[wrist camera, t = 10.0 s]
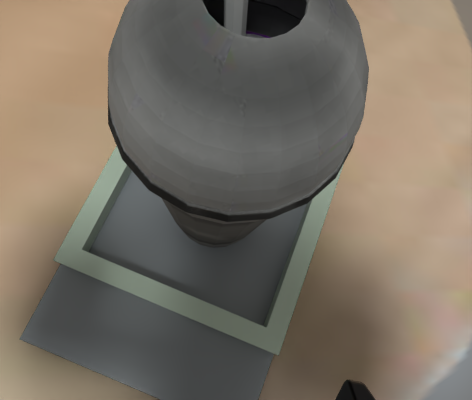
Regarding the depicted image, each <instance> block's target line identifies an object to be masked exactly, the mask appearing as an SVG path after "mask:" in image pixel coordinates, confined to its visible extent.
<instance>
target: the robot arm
mask: <svg viewBox="0 0 472 400" xmlns="http://www.w3.org/2000/svg"><path fill="white" fill-rule="evenodd" d="M335 400H375V398H374V397H373V395H372V394H371V393H370V391H369V390H368V388H367V387H366V386H365V385H364V384H363V383H362V382H358V381H353V380H346V381H345V382H344V384H343V386H342V388H341V389H340V391H339V393H338V395H337V397H336V399H335Z"/></svg>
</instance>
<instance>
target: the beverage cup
mask: <svg viewBox="0 0 472 400" xmlns="http://www.w3.org/2000/svg"><path fill="white" fill-rule="evenodd" d="M368 72H369V67H368V61H367V56H366V51H365V47H364V43H363V38H362V34H361V29H360V25H359V22H358V20H357V18H356V16H355V14H354V12H353V11H352V9H351V7H350V6H349V4H348V2H347V1H346V0H130V1H129V2H128V4H127V5H126V7H125V9H124V12H123V14H122V17H121V20H120V22H119V25H118V27H117V30H116V33H115V35H114V38H113V41H112V44H111V47H110V51H109V57H108V124H109V127H110V129H111V132H112V135H113V137H114V140H115V142H116V145H117V147H118V150H119V153H120V155H121V158H122V160H123V161H124V162H125V163H126V164H127V166H128V167H129V168H130V169H131V170H132V171H133V173H134V174H135V175H136V176H137V177H138V178H139V180H140V181H141V182H142V183H143V184H144V185H145V186H146V188H147V189H148V190H149V191H151V192H152V193H154V194H156V195H157V196H159V197H161V198H162V200H163V202H164V203H165V205H166V207H167V208H168V210H169V212H170V214H171V215H172V217H173V219H174V220H175V222H176V224H177V225H178V226H179V227H180V228H181V230H182V231H183V232H184V233H185V234H186V235H187V236H188V237H189V238H190V239H191V240H193V241H195V242H196V243H198V244H200V245H203V246H207V247H212V248H216V247H226V246H228V245H231V244H233V243H236V242H238V241H239V240H242V239H243V238H245V237H246V236H247V235H248V234H249V233H251V232H252V231H253V230H254V229H256V228H257V227H258V226H259V225H261V224H262V223H263V222H264V221H265V220H267V219H271V218H274V217H276V216H279V215H281V214H283V213H286V212H288V211H291V210H293V209H296V208H298V207H300V206H303V205H305V204H307V203H309V202H310V201H311V200H312V199H313V198H314V197H315V196H316V195H318V194H319V193H320V192H321V191H322V190H323V189H324V188H325V187H327V186H328V185H329V184H330V183H331V182H332V181H333V180H334V179H336V177H337V175H338V173H339V171H340V169H341V167H342V165H343V164H344V162H345V160H346V158H347V156H348V154H349V152H350V151H351V149H352V146H353V143H354V138H355V135H356V134H357V132H358V130H359V128H360V125H361V122H362V119H363V115H364V107H365V100H366V92H367V84H368Z"/></svg>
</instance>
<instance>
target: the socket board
mask: <svg viewBox="0 0 472 400" xmlns="http://www.w3.org/2000/svg"><path fill="white" fill-rule="evenodd" d="M342 167H343V165H342ZM342 167H341V169H340V171H339V173H338V175H337V177H336V179H334V180H333V181H332V182H331V183H330V184H329V185H328V186H327V187H325V188H324V189H323V190H322V191H321V192H320V193H319V194H318V195H316V196H315V197H314V198H313V199H312V200H311V201H310V202H309V203H307V204H305V205H303V206H300V207H298V208H296V209H293V210H291V211H288V212H286V213H283V214H281V215H279V216H276V217H274V218H271V219H267V220H265V221H264V222H263V223H262V224H261V225H259V226H258V227H257V228H256V229H254V230H253V231H252V232H251V233H249V234H248V235H247V236H246V237H245V238H243V239H242V240H239V241H238V242H236V243H233V244H231V245H228V246H226V247H216V248H212V247H207V246H203V245H200V244H198V243H196V242H195V241H193V240H191V239H190V238H189V237H188V236H187V235H186V234H185V233H184V232H183V231H182V230H181V228H180V227H179V226H178V225H177V224H176V222H175V220H174V219H173V217H172V215H171V214H170V212H169V210H168V208H167V207H166V205H165V203H164V202H163V200H162V198H161V197H159V196H157V195H156V194H154V193H152V192H151V191H149V190H148V189H147V188H146V186H145V185H144V184H143V183H142V182H141V181H140V180H139V178H138V177H137V176H136V175H135V174H134V173H133V171H132V170H131V169H130V168H129V167H128V166H127V164H126V163H125V162H124V161H123V160H122V158H121V155H120V153H119V150H118V147H117V146H116V148H115V150H114V151H113V153H112V155H111V157H110V159H109V160H108V162H107V164H106V166H105V168H104V169H103V171H102V173H101V175H100V177H99V178H98V180H97V182H96V184H95V186H94V187H93V189H92V191H91V193H90V195H89V196H88V198H87V200H86V202H85V204H84V205H83V207H82V209H81V211H80V213H79V214H78V216H77V218H76V220H75V222H74V223H73V225H72V227H71V229H70V231H69V232H68V234H67V236H66V238H65V240H64V241H63V243H62V245H61V247H60V249H59V250H58V252H57V254H56V256H55V258H54V259H53V260H54V261H56V262H58V263H60V266H59V268H58V270H57V272H56V273H55V275H54V277H53V279H52V281H51V282H50V284H49V286H48V288H47V290H46V292H45V293H44V295H43V297H42V299H41V301H40V303H39V304H38V306H37V308H36V310H35V312H34V314H33V315H32V317H31V319H30V321H29V323H28V325H27V326H26V328H25V330H24V332H23V334H22V335H21V337H20V340H23V341H25V342H27V343H30V344H32V345H34V346H37V347H39V348H41V349H44V350H46V351H48V352H51V353H53V354H55V355H58V356H60V357H62V358H65V359H67V360H69V361H72V362H74V363H76V364H79V365H81V366H83V367H86V368H88V369H90V370H93V371H95V372H97V373H100V374H102V375H104V376H107V377H109V378H111V379H114V380H116V381H118V382H121V383H123V384H125V385H128V386H130V387H132V388H135V389H137V390H139V391H141V392H144V393H146V394H148V395H151V396H153V397H155V398H158V399H160V400H258V399H259V396H260V393H261V390H262V387H263V384H264V381H265V378H266V375H267V373H268V370H269V367H270V364H271V361H272V358H273V355H274V354H275V355H278V356H279V353H280V350H281V347H282V344H283V341H284V338H285V335H286V332H287V329H288V327H289V324H290V321H291V318H292V315H293V312H294V309H295V306H296V303H297V300H298V297H299V294H300V291H301V288H302V285H303V282H304V279H305V276H306V273H307V271H308V268H309V265H310V262H311V259H312V256H313V253H314V250H315V247H316V244H317V241H318V238H319V235H320V232H321V229H322V226H323V223H324V220H325V218H326V215H327V212H328V209H329V206H330V203H331V200H332V197H333V194H334V191H335V188H336V185H337V182H338V179H339V176H340V173H341V170H342Z"/></svg>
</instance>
